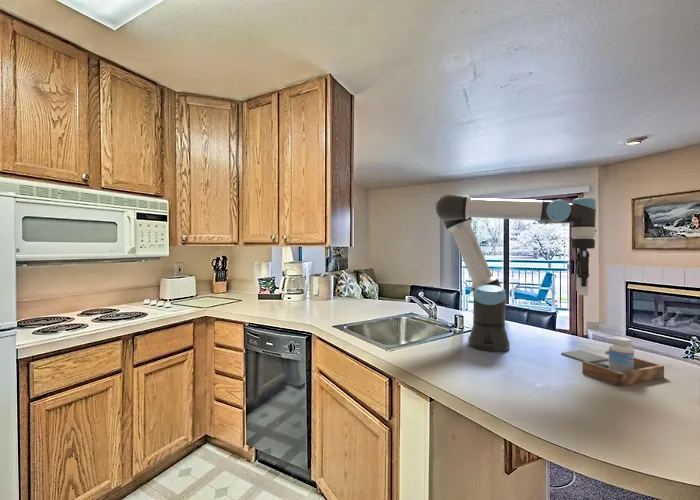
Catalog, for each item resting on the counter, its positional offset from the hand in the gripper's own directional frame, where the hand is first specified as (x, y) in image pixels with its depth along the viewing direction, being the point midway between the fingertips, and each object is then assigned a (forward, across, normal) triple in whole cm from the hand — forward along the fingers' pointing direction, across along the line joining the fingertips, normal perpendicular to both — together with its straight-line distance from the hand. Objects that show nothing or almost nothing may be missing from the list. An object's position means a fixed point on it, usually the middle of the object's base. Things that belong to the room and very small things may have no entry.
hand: (581, 293), depth 132 cm
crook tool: (+22, -6, -13) cm, 26 cm away
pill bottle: (+22, -26, -9) cm, 35 cm away
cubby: (+22, -26, -9) cm, 35 cm away
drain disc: (+22, -20, -5) cm, 30 cm away
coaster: (+22, -12, 0) cm, 25 cm away
